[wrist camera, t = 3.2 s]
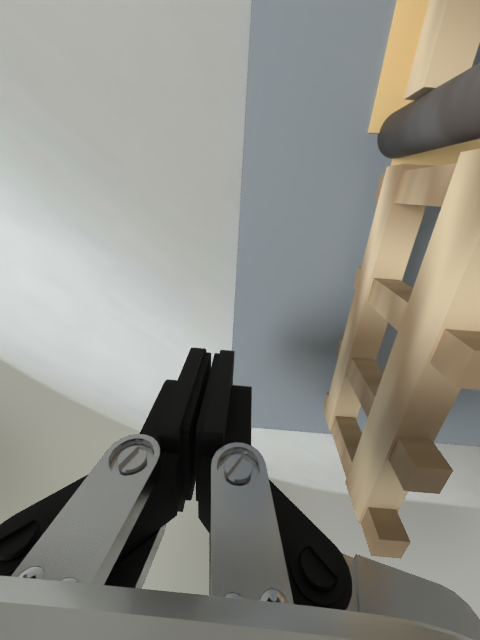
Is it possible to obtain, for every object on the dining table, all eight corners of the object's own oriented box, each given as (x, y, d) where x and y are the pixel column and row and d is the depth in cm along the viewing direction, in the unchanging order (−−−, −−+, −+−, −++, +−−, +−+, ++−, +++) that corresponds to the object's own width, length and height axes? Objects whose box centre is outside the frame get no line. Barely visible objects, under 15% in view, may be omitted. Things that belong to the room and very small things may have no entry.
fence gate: (379, 168, 11) (578, 129, 4) (410, 170, 11) (660, 134, 4) (321, 405, 16) (368, 555, 9) (342, 407, 16) (403, 558, 9)
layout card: (272, -350, 7) (274, -398, 6) (1091, -328, 6) (1167, -375, 6) (228, 419, 18) (227, 426, 17) (528, 444, 18) (537, 452, 17)
